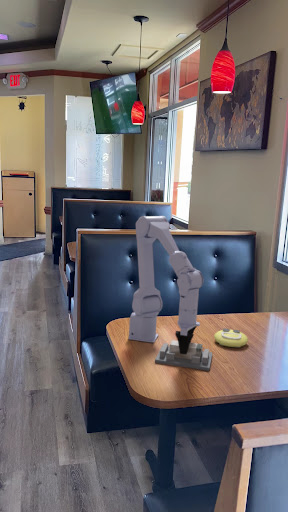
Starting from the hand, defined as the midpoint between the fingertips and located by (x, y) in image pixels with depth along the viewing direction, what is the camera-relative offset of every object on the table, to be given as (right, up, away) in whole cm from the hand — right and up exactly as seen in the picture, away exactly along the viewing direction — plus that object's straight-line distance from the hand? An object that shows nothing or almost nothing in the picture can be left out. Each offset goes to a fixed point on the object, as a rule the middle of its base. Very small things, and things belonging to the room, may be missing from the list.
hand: (185, 348), depth 136 cm
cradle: (0, -3, +1) cm, 3 cm away
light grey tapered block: (0, -2, 0) cm, 2 cm away
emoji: (+18, -2, +17) cm, 25 cm away
